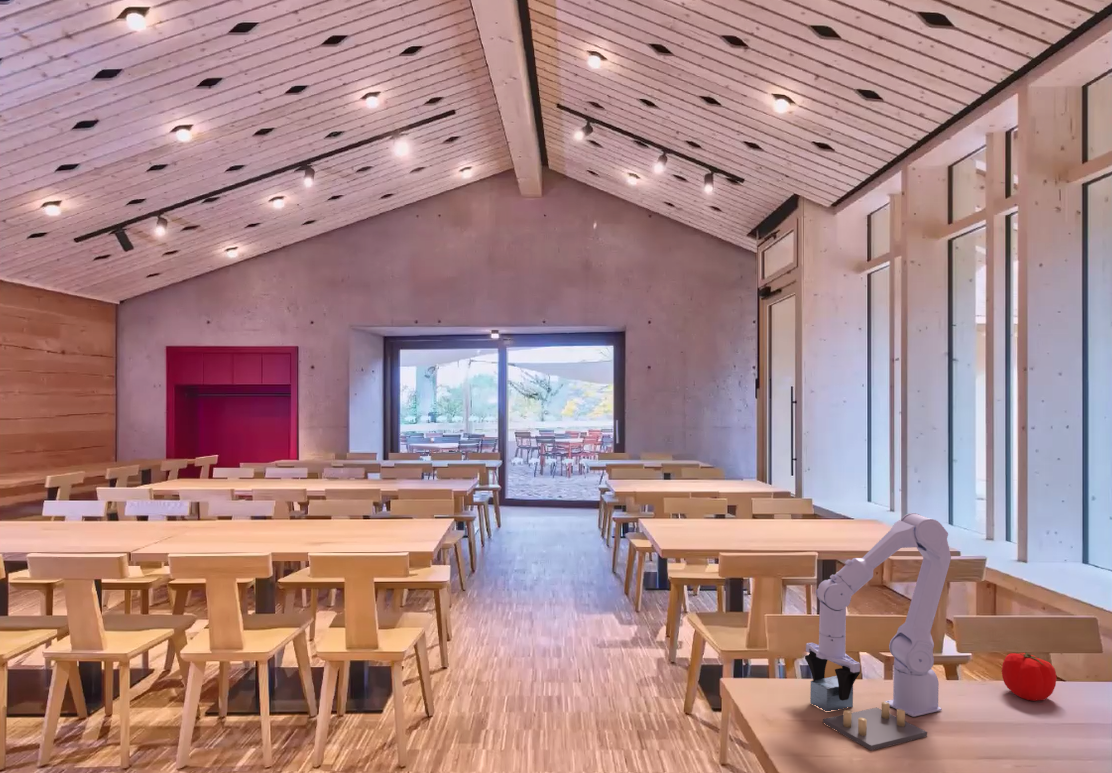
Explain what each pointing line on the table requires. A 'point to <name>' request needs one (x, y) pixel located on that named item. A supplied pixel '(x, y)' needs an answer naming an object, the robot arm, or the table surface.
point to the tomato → (1028, 676)
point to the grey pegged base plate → (875, 727)
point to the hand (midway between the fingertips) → (831, 693)
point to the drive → (828, 694)
